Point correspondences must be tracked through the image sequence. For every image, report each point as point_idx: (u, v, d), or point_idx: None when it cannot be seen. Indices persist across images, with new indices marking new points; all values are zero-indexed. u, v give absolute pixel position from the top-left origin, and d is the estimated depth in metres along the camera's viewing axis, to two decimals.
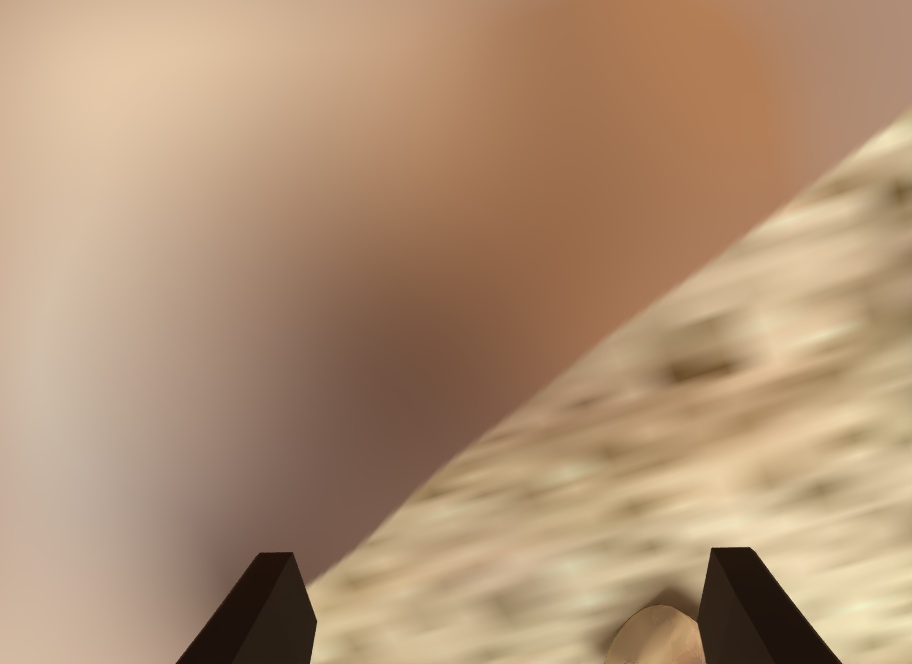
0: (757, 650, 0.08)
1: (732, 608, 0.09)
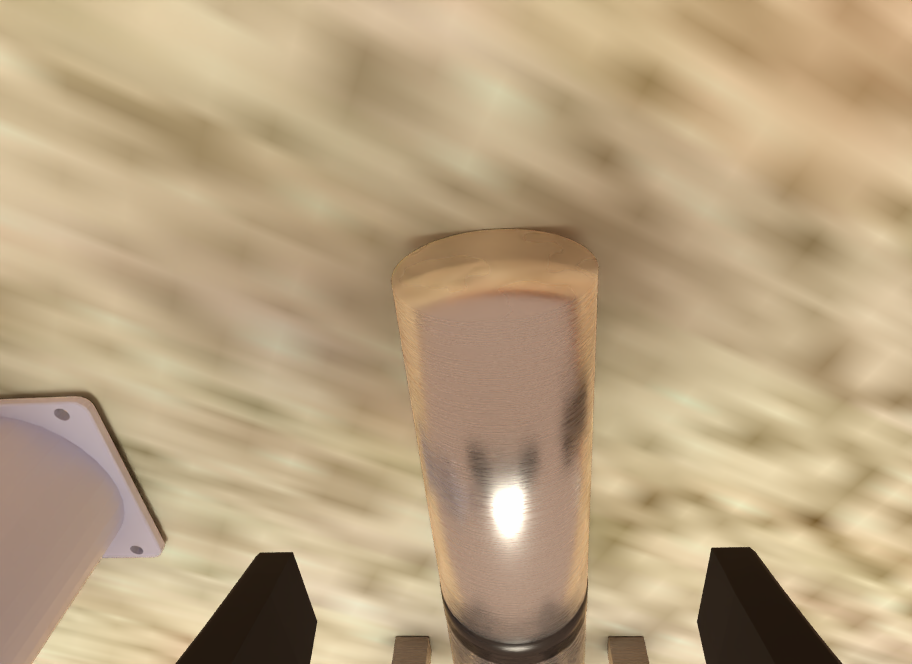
0: (757, 650, 0.08)
1: (732, 608, 0.09)
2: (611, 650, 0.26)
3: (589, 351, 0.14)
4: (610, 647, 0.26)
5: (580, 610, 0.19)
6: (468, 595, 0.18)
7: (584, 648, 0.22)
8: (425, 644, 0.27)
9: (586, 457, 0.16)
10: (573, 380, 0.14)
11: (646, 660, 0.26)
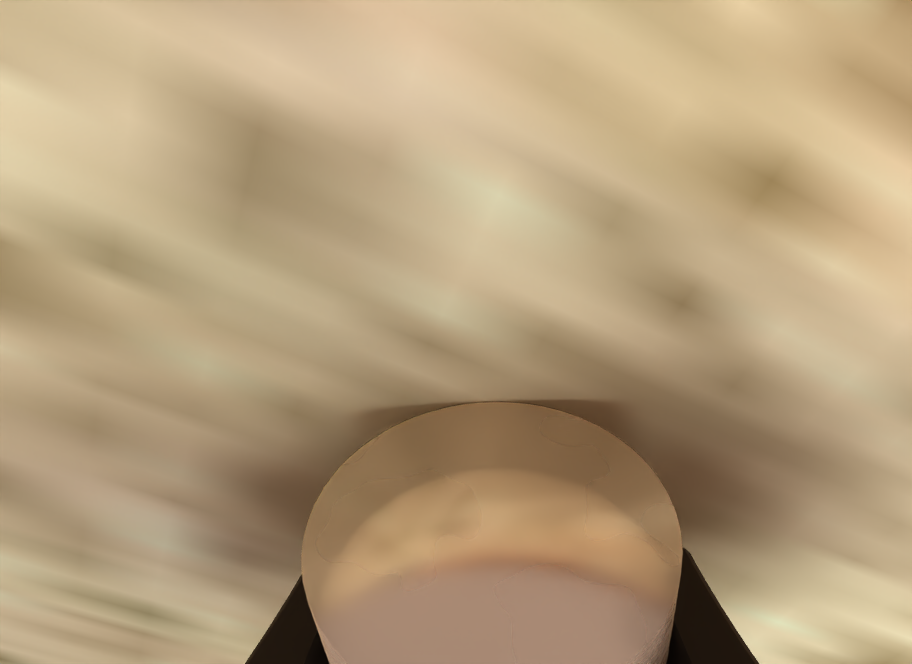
0: (679, 649, 0.08)
1: None
2: None
3: None
4: None
5: None
6: None
7: None
8: None
9: None
10: None
11: None
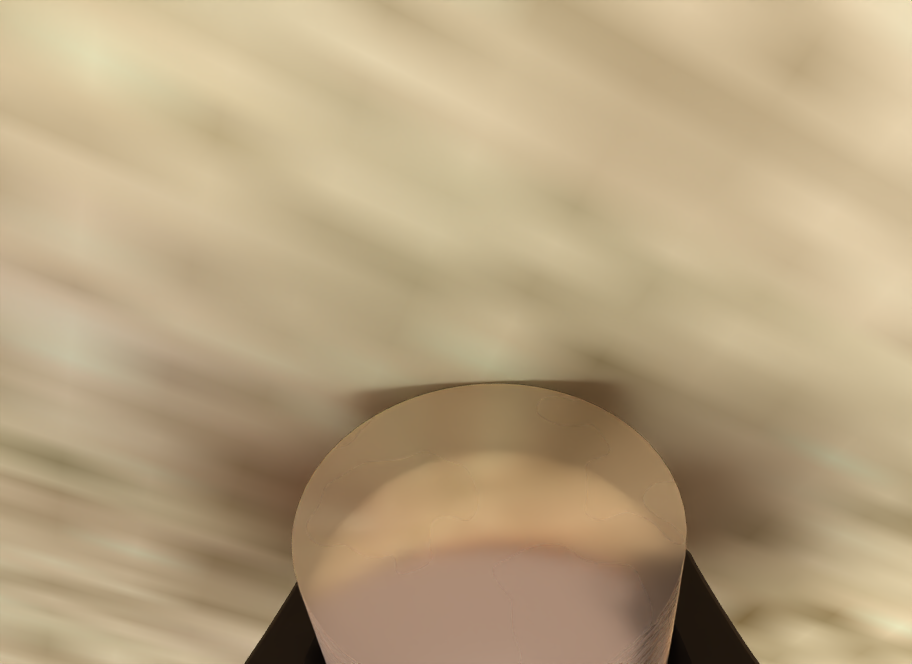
0: (680, 649, 0.08)
1: None
2: None
3: (666, 663, 0.08)
4: None
5: None
6: None
7: None
8: None
9: None
10: None
11: None
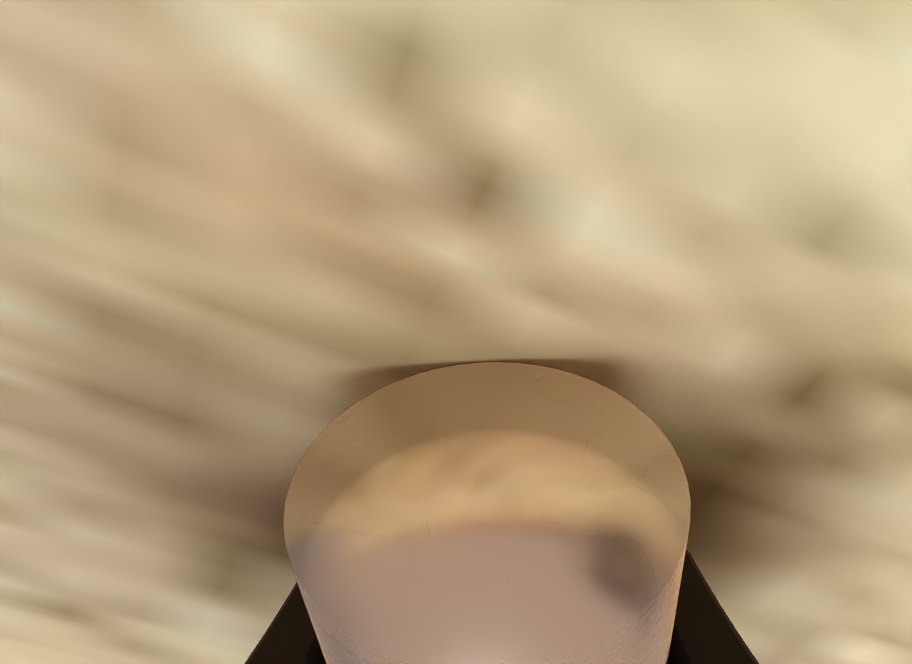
0: (679, 650, 0.08)
1: None
2: None
3: (669, 640, 0.07)
4: None
5: None
6: None
7: None
8: None
9: None
10: None
11: None
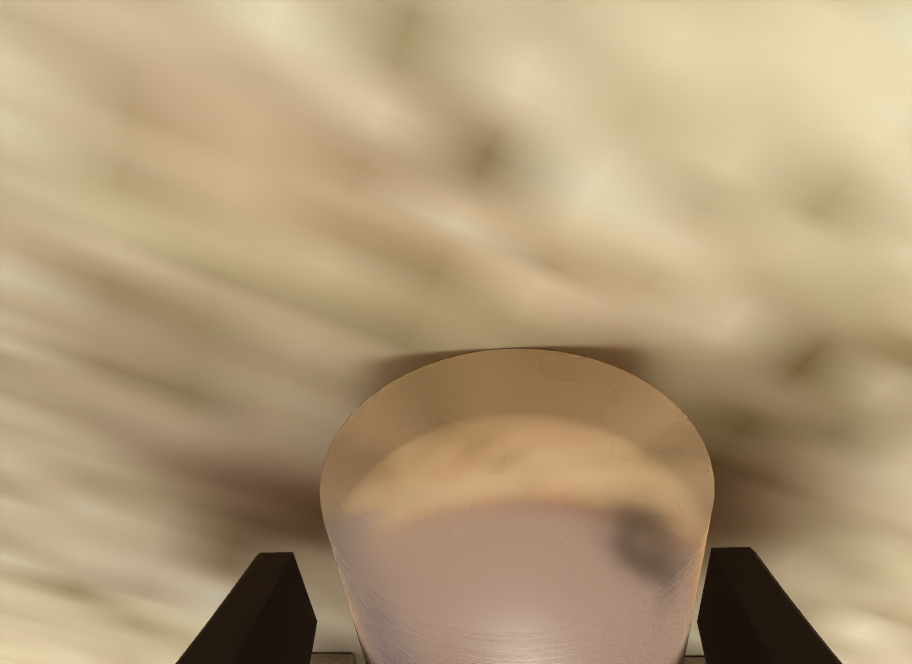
0: (757, 650, 0.08)
1: (732, 608, 0.09)
2: None
3: None
4: None
5: None
6: None
7: None
8: None
9: None
10: (678, 658, 0.08)
11: None
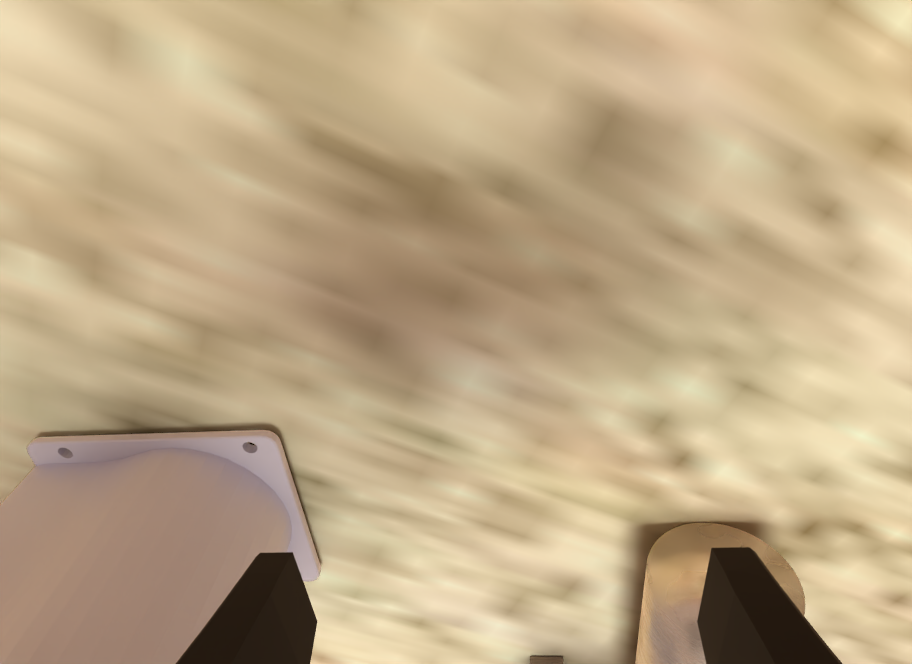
0: (757, 650, 0.08)
1: (732, 608, 0.09)
2: None
3: None
4: None
5: None
6: None
7: None
8: None
9: None
10: None
11: None
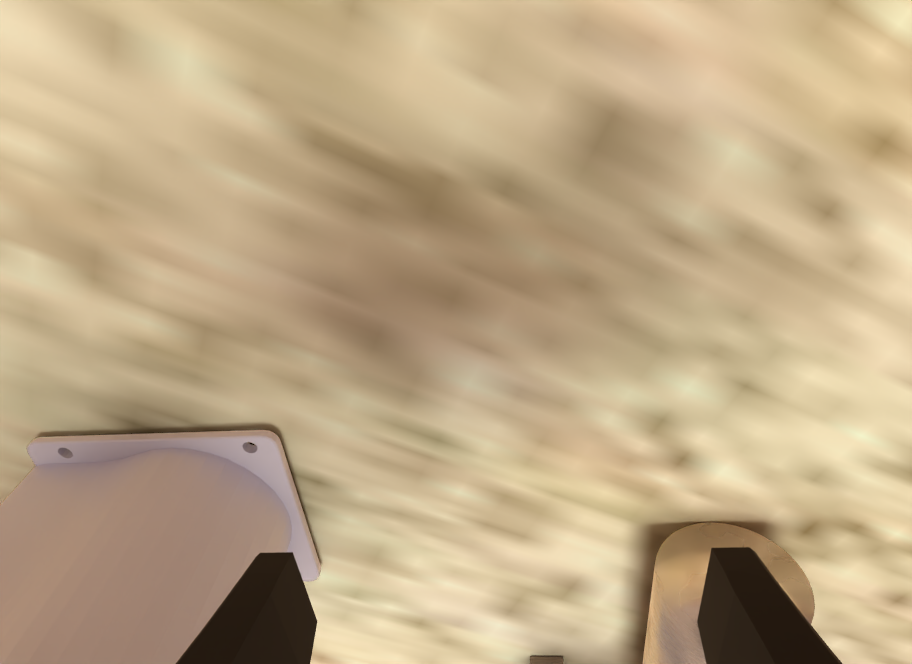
0: (757, 650, 0.08)
1: (732, 608, 0.09)
2: None
3: None
4: None
5: None
6: None
7: None
8: None
9: None
10: None
11: None
